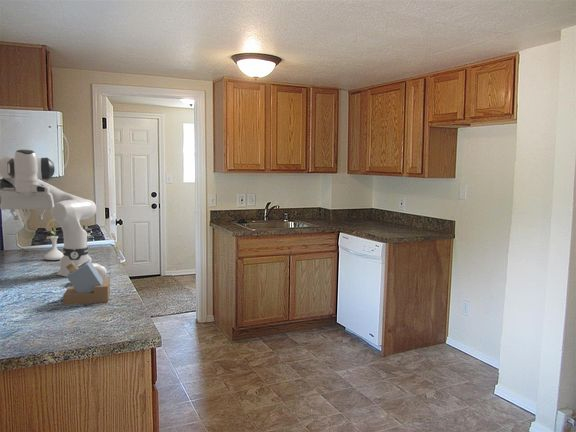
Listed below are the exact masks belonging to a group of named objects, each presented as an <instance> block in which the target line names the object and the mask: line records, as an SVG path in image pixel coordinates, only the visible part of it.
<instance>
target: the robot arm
mask: <svg viewBox="0 0 576 432" xmlns="http://www.w3.org/2000/svg"><path fill="white" fill-rule="evenodd" d="M54 174H55V164H54V161H52V160H51V159H50V158H48V157H37V153H36V151H34V150H31V149H18V150H16V151H15V154H14V156H11V155H10V156H9V155H8V156H4V157H3V156H2V157H1V158H0V177H2V178H1V179H0V208H1V209H2V210H10V214H11V215H12V216H13V220H14V221H18V220H19V215H17V214H16V213H15V212H16V210H40V212H41V213H40V214H39V215H37V219H38V220H41V221H42V220H43V219H44V214H45V212H46V210H50V213H51V216H52V219H54V220H55V221H56V222H57V223H58V224H59V226H60V227H61V231H62V234H63V236H62V237H63V248H62V253H63V255H64V256H63V257H62V258H61V259H59V262H60V263H59V271H58V272H56V276H60V277H61V276H62V277H66V276H67V274H68V273H69V270H68V269H67V268H66V266H67V265H69V264H70V263H71V262H73V263H74V264H75V265H76V266H78V265H80V264H83V263H85V262H86V261H88V260H90V261H91V262H92V257H91V256H90V255H89V250H90V249H89V246H88V233H87V230H85V229H84V228H83V227H82V225H81V223H80V221H84V220H89V219H90V218H92V217H94V216H95V215H96V214H97V209H98V208H97V205H96V203H95V202H94V201H93V200H91V199H87V198H83V197H80V196H78V195H75V194H71V193H68V192H66V191H63V190H61V188H60V189H59V188H58V187H56V186H54V185H52V184H50V183H48V182H46V181H47V180H50V179H51V178H52V177H54ZM44 180H46V181H44Z"/></svg>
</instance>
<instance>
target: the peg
mask: <svg viewBox="0 0 576 432" xmlns="http://www.w3.org/2000/svg"><path fill="white" fill-rule="evenodd" d="M66 268H67V269H68V270H69V271H70V272H71V273H72V272H74V271H75V270H77V269H79V268H78V267H77V266H76V265H75V264H74V263H73V262H71V263H70V264H69V265H67V266H66Z"/></svg>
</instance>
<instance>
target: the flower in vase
mask: <svg viewBox="0 0 576 432" xmlns="http://www.w3.org/2000/svg"><path fill="white" fill-rule="evenodd" d="M55 221H56V220H55V219H54V218H51V219H50V220H49V221H48V222H47V225H45V227H46V228H45V231H46V232H48V231H50V233H51V234H52V236H49V238H50V241H51V249H50V250H49V251H48V252H47V253H46V254H45V255H43V256H44V257H43V258H44V260H46V261H60V259H61V258H62V257H63V256H64V255H63V251H60V250H59V249H58V248H57V241H58V238H59V236H58V235H57V231H56V229H55V227H54V226H55ZM52 229H53V230H54V231H53V230H52ZM56 235H57V236H56Z"/></svg>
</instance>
